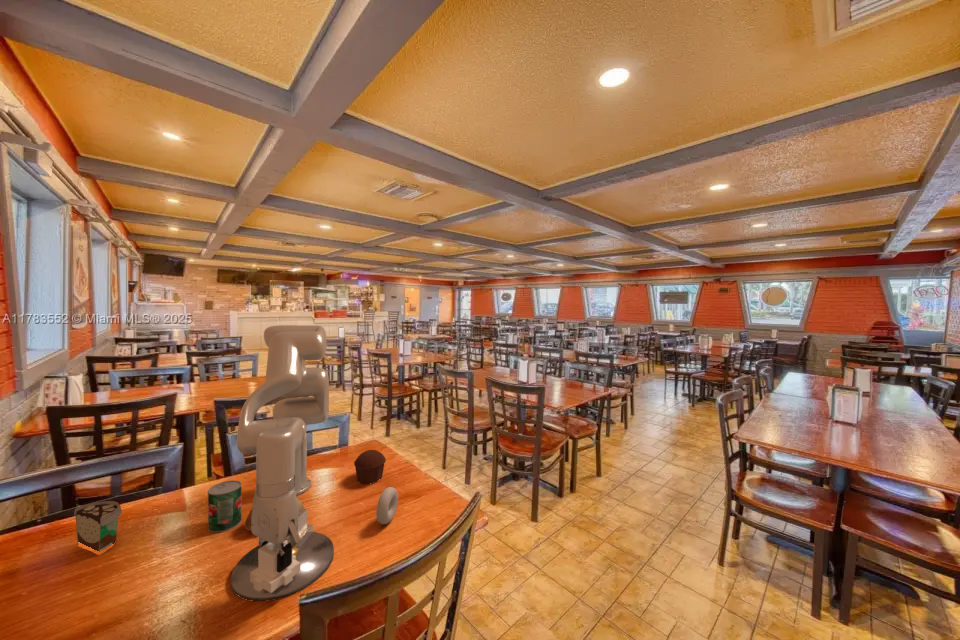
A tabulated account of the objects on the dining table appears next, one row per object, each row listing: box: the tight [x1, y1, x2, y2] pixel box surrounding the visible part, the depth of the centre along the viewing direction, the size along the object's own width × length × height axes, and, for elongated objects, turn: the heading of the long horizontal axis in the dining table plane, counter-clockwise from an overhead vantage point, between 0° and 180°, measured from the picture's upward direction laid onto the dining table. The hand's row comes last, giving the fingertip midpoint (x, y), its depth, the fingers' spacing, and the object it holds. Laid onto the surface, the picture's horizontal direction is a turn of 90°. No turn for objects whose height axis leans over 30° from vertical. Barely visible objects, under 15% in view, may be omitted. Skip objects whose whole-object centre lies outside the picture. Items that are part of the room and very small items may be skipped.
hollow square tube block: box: [250, 540, 300, 593], centre depth 79 cm, size 9×9×7 cm
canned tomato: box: [207, 480, 243, 534], centre depth 102 cm, size 8×8×11 cm
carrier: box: [230, 508, 335, 602], centre depth 87 cm, size 22×22×9 cm
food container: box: [73, 500, 123, 552], centre depth 93 cm, size 12×6×10 cm, turn 71°
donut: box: [375, 486, 399, 525], centre depth 105 cm, size 10×4×10 cm, turn 168°
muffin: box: [353, 449, 387, 485], centre depth 131 cm, size 12×11×10 cm
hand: (276, 563), depth 79 cm, fingers closed on hollow square tube block, 4 cm apart
